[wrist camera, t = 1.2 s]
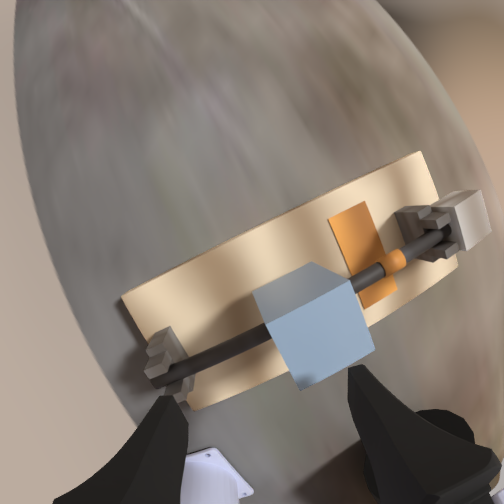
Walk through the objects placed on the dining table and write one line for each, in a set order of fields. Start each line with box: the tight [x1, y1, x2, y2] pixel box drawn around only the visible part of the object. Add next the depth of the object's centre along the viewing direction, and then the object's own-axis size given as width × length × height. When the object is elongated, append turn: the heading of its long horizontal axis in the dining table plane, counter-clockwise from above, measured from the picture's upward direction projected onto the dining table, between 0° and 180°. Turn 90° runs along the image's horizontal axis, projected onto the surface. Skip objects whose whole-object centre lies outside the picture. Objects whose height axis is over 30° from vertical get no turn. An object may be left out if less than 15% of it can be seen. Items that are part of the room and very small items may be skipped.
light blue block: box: [252, 261, 375, 391], centre depth 16 cm, size 4×4×6 cm
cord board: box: [121, 151, 492, 411], centre depth 18 cm, size 24×10×6 cm, turn 116°
